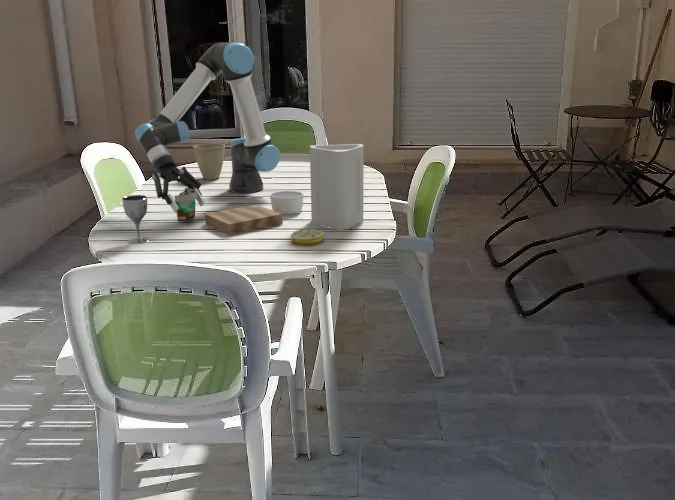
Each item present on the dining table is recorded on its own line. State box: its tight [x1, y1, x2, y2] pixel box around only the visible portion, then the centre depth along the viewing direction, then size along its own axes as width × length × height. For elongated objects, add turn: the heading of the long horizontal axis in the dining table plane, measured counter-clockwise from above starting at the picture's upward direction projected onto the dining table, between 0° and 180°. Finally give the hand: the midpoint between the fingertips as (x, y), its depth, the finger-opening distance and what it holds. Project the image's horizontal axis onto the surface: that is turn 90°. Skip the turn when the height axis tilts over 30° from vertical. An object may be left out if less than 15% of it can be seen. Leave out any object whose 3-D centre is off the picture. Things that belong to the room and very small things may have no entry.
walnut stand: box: [204, 204, 284, 236], centre depth 247 cm, size 22×18×4 cm
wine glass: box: [121, 194, 150, 245], centre depth 227 cm, size 8×8×15 cm
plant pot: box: [192, 142, 226, 181], centre depth 324 cm, size 15×15×16 cm
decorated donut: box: [290, 228, 324, 246], centre depth 226 cm, size 10×11×4 cm
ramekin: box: [269, 190, 305, 215], centre depth 264 cm, size 13×13×7 cm
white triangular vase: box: [309, 143, 365, 231], centre depth 242 cm, size 19×15×28 cm
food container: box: [174, 187, 197, 222], centre depth 250 cm, size 12×6×10 cm, turn 174°
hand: (190, 207), depth 247 cm, fingers closed on food container, 11 cm apart
